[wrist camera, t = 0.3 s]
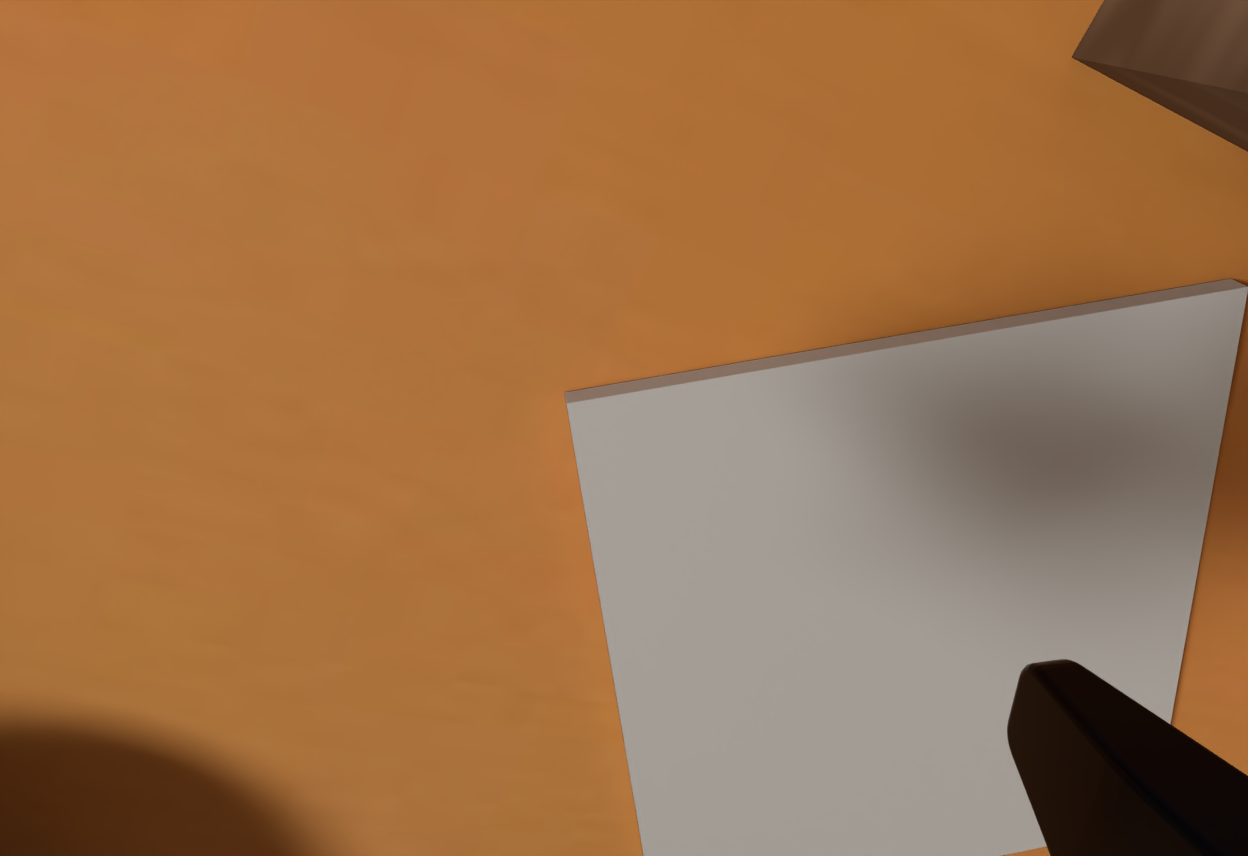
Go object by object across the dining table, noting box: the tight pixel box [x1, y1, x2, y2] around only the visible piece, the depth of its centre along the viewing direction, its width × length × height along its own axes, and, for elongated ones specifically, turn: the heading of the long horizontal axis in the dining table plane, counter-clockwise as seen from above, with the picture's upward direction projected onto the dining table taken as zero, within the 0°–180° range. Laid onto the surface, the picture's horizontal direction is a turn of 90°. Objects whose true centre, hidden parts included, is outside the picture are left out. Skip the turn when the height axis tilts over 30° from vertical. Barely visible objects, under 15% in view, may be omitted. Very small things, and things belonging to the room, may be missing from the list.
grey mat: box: [565, 279, 1248, 856], centre depth 27 cm, size 18×16×1 cm
